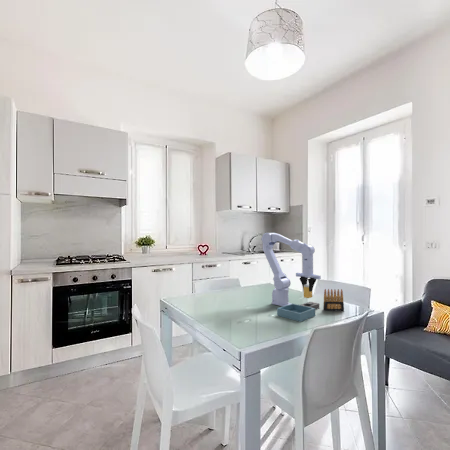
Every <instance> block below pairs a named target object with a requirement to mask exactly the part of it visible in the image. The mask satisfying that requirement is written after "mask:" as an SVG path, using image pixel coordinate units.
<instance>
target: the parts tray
mask: <svg viewBox="0 0 450 450" xmlns="http://www.w3.org/2000/svg"><path fill="white" fill-rule="evenodd" d="M276 316H277V317H282V318H285V319H289V320H293V321H296V322H300V323H301V322H303V321H306V320H308V319H310V318H313V317H315V316H316V309H315V308H311V307H307V306H302V305H301V304H296V303H291V304H289V305H286V306H280V307H277V308H276Z"/></svg>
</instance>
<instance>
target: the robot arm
mask: <svg viewBox="0 0 450 450" xmlns="http://www.w3.org/2000/svg"><path fill="white" fill-rule="evenodd" d="M277 242H280V243H283V244H284V245H288V246H289V247H290V248H291V250H294V251H296V252H298V253H301V255H302V272H296V273H295V277H299V280H300V283H301V285H302V288H303V290H304V285H305V284H309V291H310V292H311V291H312V292H313V290H314V285H315V284H316V282H317V280H319V281H320V280H321V279H322V278H321V275H318V274H314V253H315V246H314V245H312V244H307V242H302V241H300V239H290V238H288V237H286V236H284V235H282V234H280V233H276V232H265V233H263V234H262V236H261V243H262V251H263V252H264V256H265V258H266V260H267V263H268V265H269V267H270V269H271V272H272V275H273V279H272V280H273V286H274V289H272V293H271V304H272V305H276V306H280V307H283V306H286V305H289V304H292V303H291V302H289V299H290V298H289V297H290V296H289V288H290V286H291V285H292V284H291V280H290V278H289V277H287V275H286V274H285V273H284V272H283V270H282V267H281V266H280V263H279V261H278V259H277V257H276V255H275V252H274V250H273V249H274V246H275V245H276V244H277ZM271 304H270V305H271Z"/></svg>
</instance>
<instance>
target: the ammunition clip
mask: <svg viewBox="0 0 450 450" xmlns="http://www.w3.org/2000/svg"><path fill="white" fill-rule="evenodd" d="M344 304H345V303H344V292H343V289H342V288H341V289H337V290H336V289H332V288H331V290H330V288H328V289H326V288H325V289H324V292H323V311H324V312H345V305H344Z"/></svg>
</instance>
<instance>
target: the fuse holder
mask: <svg viewBox="0 0 450 450" xmlns="http://www.w3.org/2000/svg"><path fill="white" fill-rule="evenodd" d="M300 305H302V306H307V307H311V308H315V310H317V308H318V309H320V303H318V302H315V301H308V302H305V303H301V304H300Z"/></svg>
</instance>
